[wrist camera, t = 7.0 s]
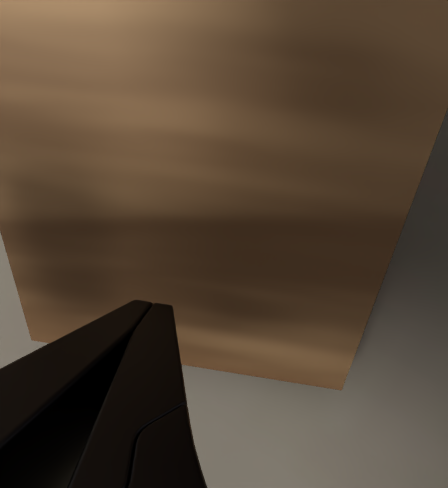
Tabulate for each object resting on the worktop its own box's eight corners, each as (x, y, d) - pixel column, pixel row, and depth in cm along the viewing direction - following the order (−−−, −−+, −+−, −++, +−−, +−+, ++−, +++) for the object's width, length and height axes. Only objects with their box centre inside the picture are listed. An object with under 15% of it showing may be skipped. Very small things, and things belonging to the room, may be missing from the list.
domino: (341, 390, 14) (503, -39, 7) (31, 340, 15) (-91, -87, 8) (335, 337, 16) (457, -39, 9) (62, 296, 17) (-15, -78, 10)
